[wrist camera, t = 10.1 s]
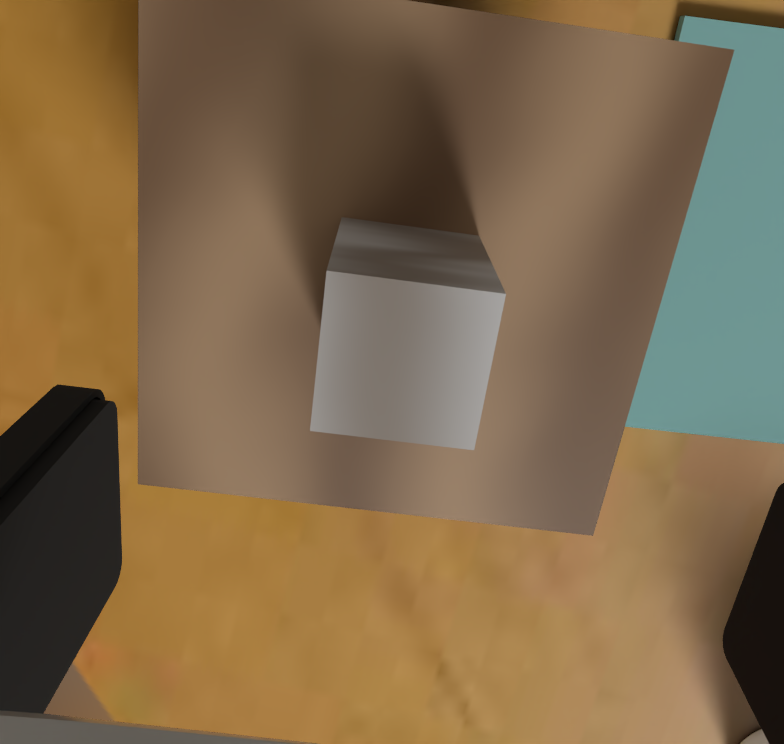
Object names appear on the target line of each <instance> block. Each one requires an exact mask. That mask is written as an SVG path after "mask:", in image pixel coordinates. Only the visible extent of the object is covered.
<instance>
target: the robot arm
mask: <svg viewBox="0 0 784 744" xmlns="http://www.w3.org/2000/svg"><path fill="white" fill-rule="evenodd" d="M121 565H122V545H121V514H120V484H119V453H118V422H117V408H116V405H115V403H114V402H113V401H105V397H104V395H103V392H102V391H101V390H99V389H91V388H82V387H74V386H66V385H56V386H55V387H53V388H52V389H51V390H50V391H49V392H48V393H47V394H46V395H44V396H43V397H42V398H41V399H40V400H39V401H38V402H37V403H36V404H35V405H34V406H33V407H31V408H30V409H29V410H28V411H27V412H26V413H25V414H24V415H23V416H22V417H21V418H20V419H19V420H17V421H16V422H15V423H14V424H13V425H12V426H11V427H10V428H9V429H8V430H7V431H6V432H4V433H3V434H2V435H1V436H0V744H317V743H308V742H299V741H290V740H281V739H271V738H262V737H253V736H244V735H235V734H225V733H216V732H207V731H198V730H189V729H179V728H170V727H161V726H152V725H143V724H133V723H124V722H115V721H105V720H97V719H87V718H78V717H69V716H60V715H51V714H43V713H44V711H45V710H46V708H47V706H48V704H49V703H50V701H51V699H52V697H53V695H54V694H55V692H56V690H57V688H58V687H59V685H60V683H61V681H62V680H63V678H64V676H65V674H66V673H67V671H68V669H69V667H70V665H71V664H72V662H73V660H74V658H75V657H76V655H77V653H78V651H79V650H80V648H81V646H82V644H83V643H84V641H85V639H86V637H87V636H88V634H89V632H90V630H91V628H92V627H93V625H94V623H95V621H96V620H97V618H98V616H99V614H100V613H101V611H102V609H103V607H104V606H105V604H106V602H107V600H108V598H109V597H110V595H111V593H112V591H113V590H114V588H115V586H116V584H117V581H118V578H119V575H120V571H121ZM723 648H724V653H725V656H726V659H727V661H728V663H729V665H730V667H731V669H732V671H733V673H734V675H735V677H736V679H737V681H738V683H739V685H740V687H741V689H742V691H743V693H744V695H745V697H746V699H747V701H748V703H749V705H750V707H751V709H752V711H753V713H754V715H755V717H756V719H757V721H758V723H759V725H760V727H761V729H762V731H763V733H764V735H765V737H766V739H767V741H768V743H769V744H784V483H783V484H781V485H780V486H779V487H778V489H777V491H776V493H775V496H774V499H773V501H772V504H771V507H770V509H769V512H768V515H767V517H766V520H765V523H764V525H763V528H762V531H761V533H760V536H759V539H758V541H757V544H756V547H755V549H754V552H753V555H752V557H751V560H750V563H749V565H748V568H747V571H746V573H745V576H744V579H743V581H742V584H741V587H740V589H739V592H738V595H737V597H736V600H735V603H734V605H733V608H732V611H731V613H730V616H729V619H728V621H727V624H726V626H725V630H724V633H723Z"/></svg>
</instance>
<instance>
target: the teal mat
mask: <svg viewBox="0 0 784 744" xmlns="http://www.w3.org/2000/svg"><path fill="white" fill-rule="evenodd" d="M674 41H680V42H687V43H693V44H700V45H707V46H713V47H720V48H727V49H733V50H734V53H733V57H732V60H731V64H730V67H729V70H728V74H727V77H726V81H725V84H724V88H723V91H722V94H721V98H720V101H719V105H718V108H717V112H716V115H715V118H714V122H713V125H712V129H711V132H710V136H709V139H708V143H707V146H706V149H705V153H704V156H703V160H702V163H701V167H700V170H699V173H698V177H697V180H696V184H695V187H694V191H693V194H692V197H691V201H690V204H689V208H688V211H687V215H686V218H685V221H684V225H683V228H682V232H681V235H680V239H679V242H678V245H677V249H676V252H675V256H674V259H673V263H672V266H671V270H670V273H669V276H668V280H667V283H666V287H665V290H664V294H663V297H662V300H661V304H660V307H659V311H658V314H657V318H656V321H655V324H654V328H653V331H652V335H651V338H650V342H649V345H648V348H647V352H646V355H645V359H644V362H643V366H642V369H641V372H640V376H639V379H638V383H637V386H636V390H635V393H634V397H633V400H632V403H631V407H630V410H629V414H628V417H627V421H626V424H625V427H635V428H644V429H653V430H662V431H671V432H680V433H689V434H698V435H708V436H717V437H726V438H735V439H744V440H753V441H762V442H771V443H781V444H784V29H783V28H775V27H767V26H760V25H752V24H744V23H737V22H729V21H721V20H714V19H706V18H698V17H691V16H680V19H679V23H678V27H677V31H676V35H675V39H674Z"/></svg>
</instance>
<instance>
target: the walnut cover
mask: <svg viewBox="0 0 784 744" xmlns="http://www.w3.org/2000/svg"><path fill="white" fill-rule="evenodd" d="M733 53H734V50H733V49H727V48H720V47H713V46H707V45H700V44H693V43H687V42H680V41H674V40H667V39H660V38H654V37H647V36H641V35H634V34H627V33H621V32H614V31H607V30H601V29H594V28H588V27H581V26H574V25H568V24H561V23H555V22H548V21H541V20H535V19H528V18H521V17H515V16H508V15H502V14H495V13H488V12H482V11H475V10H468V9H462V8H455V7H449V6H442V5H435V4H429V3H422V2H416V1H409V0H138V484H142V485H151V486H160V487H168V488H177V489H186V490H195V491H204V492H213V493H221V494H230V495H239V496H248V497H257V498H266V499H274V500H283V501H292V502H301V503H310V504H318V505H327V506H336V507H345V508H354V509H363V510H371V511H380V512H389V513H398V514H407V515H416V516H424V517H433V518H442V519H451V520H460V521H469V522H477V523H486V524H495V525H504V526H513V527H522V528H530V529H539V530H548V531H557V532H566V533H575V534H583V535H592V536H593V534H594V530H595V527H596V524H597V520H598V517H599V513H600V510H601V506H602V503H603V499H604V496H605V493H606V489H607V486H608V482H609V479H610V475H611V472H612V469H613V465H614V462H615V458H616V455H617V451H618V448H619V445H620V441H621V438H622V434H623V431H624V427H625V424H626V421H627V417H628V414H629V410H630V407H631V403H632V400H633V397H634V393H635V390H636V386H637V383H638V379H639V376H640V372H641V369H642V366H643V362H644V359H645V355H646V352H647V348H648V345H649V342H650V338H651V335H652V331H653V328H654V324H655V321H656V318H657V314H658V311H659V307H660V304H661V300H662V297H663V294H664V290H665V287H666V283H667V280H668V276H669V273H670V270H671V266H672V263H673V259H674V256H675V252H676V249H677V245H678V242H679V239H680V235H681V232H682V228H683V225H684V221H685V218H686V215H687V211H688V208H689V204H690V201H691V197H692V194H693V191H694V187H695V184H696V180H697V177H698V173H699V170H700V167H701V163H702V160H703V156H704V153H705V149H706V146H707V143H708V139H709V136H710V132H711V129H712V125H713V122H714V118H715V115H716V112H717V108H718V105H719V101H720V98H721V94H722V91H723V88H724V84H725V81H726V77H727V74H728V70H729V67H730V64H731V60H732V57H733Z"/></svg>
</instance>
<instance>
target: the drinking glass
mask: <svg viewBox="0 0 784 744" xmlns="http://www.w3.org/2000/svg"><path fill="white" fill-rule="evenodd" d="M740 744H769V743H768V741H767V739H766V737H765V735H764V733H763V731H762V729H760V730H758V731H756V732H754V733H752V734H751V735H749V736H748V737H747V738H745V739H744V740H743V741H742V742H741V743H740Z"/></svg>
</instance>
